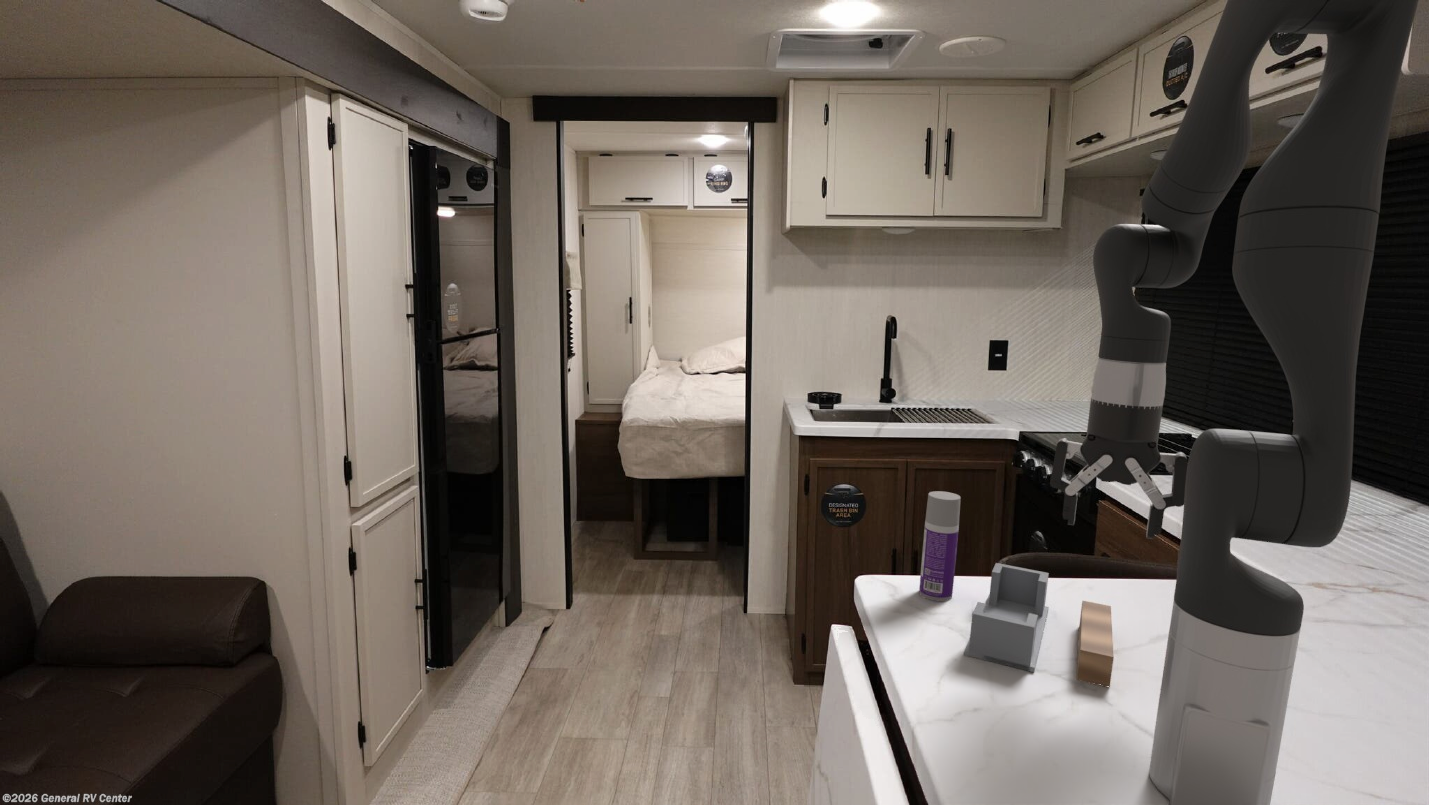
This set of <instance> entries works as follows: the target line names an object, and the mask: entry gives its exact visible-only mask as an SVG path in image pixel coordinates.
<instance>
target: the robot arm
mask: <svg viewBox="0 0 1429 805" xmlns="http://www.w3.org/2000/svg"><path fill="white" fill-rule="evenodd" d="M1418 4H1419V0H1227V2H1226V4H1225V6H1224V10H1223V12H1222V14H1221V17H1220V19H1219V22H1218V25H1217V27H1216V30H1215V31H1214V35H1213V37H1212V40H1211V41H1210V42H1211V43H1210V45H1209V47H1208V51H1207V53H1206V56H1205V59H1204V61H1203V64H1202V67H1201V69H1200V72H1199V75H1198V78H1197V81H1196V84H1195V86H1194V89H1193V93H1192V95H1191V98H1190V100H1189V102H1188V105H1187V108H1186V110H1185V113H1184V116H1183V118H1182V121H1181V122H1180V125H1179V127H1178V129H1177V131H1176V132H1175V135H1174V137H1173V139H1172V141H1171V142H1170V144H1169V146H1168V148H1167V150H1166V152H1165V153H1164V155H1163V157H1162V159H1161V160H1160V163H1159V164H1158V165H1157V168H1156V170H1155V171H1154V173H1153V175H1152V177H1151V178H1150V180H1149V182H1148V183H1147V186H1146V187H1145V189H1144V190H1143V191H1144V192H1143V194H1142V197H1141V203H1140V204H1141V205H1140V206H1141V210H1142V212H1143V214H1144V215H1145V217H1146V218H1147V219H1149V221H1150V222H1153V223H1154V224H1137V223H1136V224H1135V223H1134V224H1133V223H1119V224H1115V225H1112V226H1110V227H1108V228H1106V229H1105V231H1104V232H1103V233H1101V235H1100V236H1099V238H1098V240H1097V241H1096V244H1095V246H1094V249H1093V255H1092V264H1093V271H1094V277H1095V283H1096V286H1097V287H1096V288H1097V293H1098V299H1099V306H1100V307H1099V308H1100V316H1101V330H1100V332H1101V333H1100V340H1099V349H1098V358H1097V362H1096V363H1097V364H1096V365H1095V370H1094V374H1093V380H1092V386H1091V389H1090V391H1091V395H1090V402H1089V403H1090V404H1089V410H1088V411H1089V412H1088V419H1087V420H1088V421H1087V428H1086V437H1085V439H1084V440H1083V442H1077V441H1071V440H1069V439H1068V438H1066V437H1060V438H1059V439H1058V441H1057V443H1056V448H1055V453H1054V458H1053V465H1052V469H1051V474H1050V479H1049V486H1050V487H1052V488H1053V489H1057V490H1060V491H1061V492H1062V493H1063V495H1064V498H1063V507H1062V514H1061V515H1062V519H1063V520H1067V525H1068V526H1074V525H1075V521H1076V513H1077V512H1076V511H1077V503H1078V496H1079V491H1080V490H1081V489H1083V487H1085V486H1086V485H1088V484H1089V483H1090V482H1091V481H1092V480H1093V479H1095V478H1097V479H1099V480H1100V481H1101V482H1104V483H1114V482H1115V483H1119V484H1121V485H1124V486H1125V485H1127V486H1131V485H1135V484H1138V485H1139V487H1141V489H1142V491H1143V492H1144V493H1145V495H1146V496H1147V498H1149V501H1150V502H1151V503H1150V504H1149V513H1148V517H1147V518H1148V519H1147V524H1146V535H1145V536H1146V539H1151V540H1154V536H1155V535H1156V536H1160V534H1161V532H1162V528H1163V522H1164V515H1165V511H1166V509H1168V508H1171V507H1173V508H1174V507H1177V508H1181V507H1183V513H1182V515H1183V516H1182V525H1181V535H1180V536H1181V538H1180V544H1179V550H1178V552H1179V553H1178V560H1177V569H1176V580H1175V589H1174V594H1173V603H1172V608H1171V609H1172V610H1171V618H1170V625H1169V630H1168V637H1167V642H1166V643H1167V645H1166V650H1165V658H1164V662H1163V663H1164V665H1163V670H1162V671H1163V672H1162V676H1161V677H1162V679H1161V685H1160V692H1159V699H1158V706H1157V712H1156V720H1155V726H1154V727H1155V728H1154V733H1153V742H1152V748H1151V754H1150V763H1149V769H1148V772H1149V777H1150V779H1151V782H1152V783H1153V784H1154V786H1155V788H1156V789H1158V791H1159V792H1161V793H1162V794H1163V795H1164V796H1165V797H1166V798H1167V799H1168V801H1169V805H1271V803H1272V798H1273V797H1272V796H1273V791H1274V790H1273V789H1274V785H1275V780H1276V773H1277V767H1278V762H1279V755H1280V749H1281V743H1282V737H1283V731H1284V726H1285V720H1286V714H1287V709H1288V701H1289V696H1290V690H1291V685H1292V679H1293V678H1292V677H1293V673H1294V668H1295V662H1296V658H1297V652H1298V651H1297V650H1298V646H1299V641H1300V640H1299V639H1300V634H1301V627H1302V622H1303V618H1304V617H1303V615H1304V607H1305V605H1304V600H1303V597H1302V595H1301V593H1299V592H1298V590H1297V589H1295V588H1294V587H1292V586H1291V585H1290V584H1289V583H1287V582H1285V581H1284V580H1282V579H1280V578H1278V577H1275V576H1274V575H1271V574H1269V573H1267V572H1264V571H1262V570H1261V569H1258V568H1256V567H1253V566H1251V565H1249V564H1247V563H1245V561H1243V560H1241V559H1239V558H1238V557H1237V556H1235V555H1234V554H1233V553H1232V551H1231V540H1232V539H1241V540H1248V541H1249V540H1250V541H1256V542H1265V543H1272V544H1280V545H1286V546H1295V547H1303V548H1323V547H1325V546H1328V545H1330V544H1331V543H1333V542H1334V541H1335V539H1336V538H1337V536H1338V535H1339V533H1340V531H1341V530H1342V528H1343V526H1344V523H1345V520H1346V516H1347V514H1348V508H1349V504H1350V503H1349V502H1350V496H1351V487H1352V473H1353V472H1352V471H1353V470H1352V469H1353V454H1354V453H1353V452H1354V451H1353V450H1354V429H1355V428H1354V426H1355V406H1356V404H1355V401H1356V400H1355V399H1356V381H1357V380H1356V376H1357V366H1358V356H1359V348H1360V347H1359V346H1360V339H1361V332H1362V331H1361V330H1362V325H1363V319H1364V313H1365V305H1366V300H1367V294H1368V288H1369V283H1370V277H1371V272H1372V271H1371V270H1372V267H1373V260H1374V254H1375V247H1376V241H1377V239H1376V238H1377V231H1378V225H1379V217H1380V215H1379V214H1380V213H1381V212H1380V210H1381V197H1382V186H1383V185H1382V184H1383V176H1384V175H1383V174H1384V168H1385V163H1386V155H1387V154H1386V153H1387V147H1388V141H1389V134H1390V128H1391V122H1392V116H1393V111H1394V105H1395V100H1396V95H1397V88H1398V84H1399V81H1400V80H1399V79H1400V76H1401V73H1402V72H1401V71H1402V66H1403V63H1404V59H1405V54H1406V50H1407V47H1408V43H1409V40H1410V39H1409V38H1410V35H1411V32H1412V27H1413V24H1414V20H1415V16H1416V13H1417V8H1418ZM1275 33H1278V34H1279V33H1280V34H1281V33H1282V34H1302V35H1303V34H1305V35H1306V34H1309V35H1325V36H1326V40H1327V42H1326V43H1327V44H1326V45H1327V46H1326V55H1325V60H1324V65H1323V66H1324V67H1323V69H1322V74H1321V77H1320V80H1319V84H1318V88H1317V91H1316V93H1315V95H1314V97H1313V100H1312V102H1311V103H1310V104H1309V106H1308V108H1307V109H1306V111H1305V113H1304V114H1303V116H1302V117H1301V118H1300V119H1299V121H1298V122H1297V123H1296V125H1295V126H1294V127H1293V129H1291V130H1290V132H1289V133H1288V134H1287V136H1286V137H1285V138H1284V139H1283V140H1282V141H1281V143H1280V144H1278V146H1277V147H1276V148H1275V149H1274V150H1273V152H1272V153H1271V154H1270V155H1269V156H1268V158H1267V159H1266V160H1265V162H1264V163H1263V164H1262V166H1260V168H1259V169H1258V171H1257V172H1256V173H1255V175H1253V177H1252V179H1251V180H1250V182H1249V183H1248V185H1247V187H1246V189H1245V191H1244V193H1243V194H1242V195H1243V196H1242V199H1241V201H1240V205H1239V210H1238V211H1239V212H1238V216H1237V224H1236V233H1235V241H1234V246H1233V247H1234V250H1233V258H1232V266H1231V269H1232V278H1233V281H1234V285H1235V287H1236V290H1237V292H1238V295H1239V296H1240V298H1241V300H1242V302H1243V304H1244V306H1245V308H1246V309H1247V311H1248V312H1249V315H1250V316H1251V317H1252V319H1253V321H1254V322H1255V325H1256V326H1257V327H1258V328H1259V330H1260V332H1261V333H1262V335H1263V337H1264V338H1265V340H1266V341H1267V342H1268V344H1269V346H1270V347H1271V350H1272V351H1273V353H1274V355H1275V356H1276V358H1277V359H1278V361H1279V362H1278V363H1279V364H1280V366H1281V368H1282V370H1283V373H1284V375H1285V378H1286V381H1287V383H1288V388H1289V391H1290V397H1291V403H1292V414H1293V415H1292V416H1293V425H1292V426H1293V428H1292V430H1293V431H1292V434H1285V433H1276V432H1264V431H1256V430H1255V431H1252V430H1243V429H1241V430H1240V429H1227V428H1209V429H1206V430H1204V431H1203V432H1201V433H1200V434H1199V435H1198V436H1197V438H1196V439H1195V440H1194V442H1193V445H1192V447H1191V450H1190V452H1189V456H1188V458H1187V456H1186V454H1185V453H1184V452H1182V451H1177V452H1176V453H1169V452H1168V453H1166V452H1160V449H1158V443H1159V435H1160V428H1161V421H1162V414H1163V406H1164V401H1165V397H1166V386H1167V373H1166V371H1167V369H1166V368H1167V363H1166V362H1167V358H1168V353H1169V351H1168V350H1169V346H1170V336H1171V328H1172V324H1171V322H1172V321H1171V317H1170V316H1169V315H1168V314H1167V313H1166V312H1164V311H1161V310H1159V309H1155V308H1149V307H1146V306H1143V305H1141V304H1140V303H1139V302H1138V301H1137V299H1136V297H1135V294H1134V290H1133V288H1146V289H1147V288H1152V289H1153V288H1154V289H1170V288H1174V287H1177V286H1180V285H1181V284H1183V283H1185V282H1187V281H1188V280H1189V279H1190V278H1191V277H1192V276H1193V275H1194V274H1195V272H1196V270H1198V267H1199V263H1200V261H1201V258H1202V252H1203V247H1204V244H1205V240H1206V237H1207V235H1208V231H1209V229H1210V225H1211V222H1212V219H1213V216H1214V214H1215V212H1216V211H1217V209H1218V208H1219V206H1220V204H1222V202H1223V200H1224V199H1225V197H1226V196H1227V194H1228V193H1229V191H1230V190H1231V188H1232V187H1233V186H1234V184H1235V182H1236V181H1237V180H1238V178H1239V176H1240V174H1241V173H1242V172H1243V169H1244V168H1245V165H1246V163H1247V160H1248V158H1249V155H1250V151H1251V147H1252V144H1253V143H1252V141H1253V140H1252V139H1253V126H1252V123H1253V122H1252V115H1251V114H1252V113H1251V105H1250V79H1251V74H1252V71H1253V68H1254V66H1255V63H1256V61H1257V59H1258V57H1259V56H1260V54H1261V53H1262V50H1263V48H1264V47H1265V46H1266V44H1267V42H1268V41H1269V40H1270V39H1271V38H1272V36H1273V35H1274V34H1275ZM1077 452H1078V453H1080V455H1081V456H1082V458H1083V459H1084V461H1085V463H1086V465H1085V466H1084V467H1083V468H1082V469H1080V471H1079V472H1078V474H1076V475H1075V476H1074V477H1073V478H1072V479H1070V480H1068V479H1067V478H1064V477H1063V476H1064V470H1065V466H1066V460H1067V459H1068V460H1070V459H1072V458H1074V455H1075V453H1077ZM1160 463H1163V464H1164V465H1165V469H1166V471H1168V473H1172V479H1171V481H1172V482H1171V493H1167V494H1166V493H1165V494H1163V493H1162V492H1161V490H1160V489H1159V488H1158V486H1157V484H1156V482H1155V481H1154V479H1153V477H1151V475H1150V472H1151V471H1152V470H1153V469H1155V468H1156V467H1157V466H1158V465H1159V464H1160Z"/></svg>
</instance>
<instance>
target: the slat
mask: <svg viewBox="0 0 1429 805" xmlns="http://www.w3.org/2000/svg"><path fill="white" fill-rule="evenodd" d="M1078 628H1079V629H1078V644H1079V645H1078V649H1077V669H1076V670H1077V672H1076V680H1077V681H1080V680H1081V681H1080V682H1083V683H1084V682H1085V683H1088V682H1090V683H1089V684H1092V683H1095V684H1094V685H1096V684H1101V685H1103V686H1102V687H1105V686H1109V687H1111V681H1112V680H1111V679H1112V674H1113V673H1112V672H1113V664H1114V641H1113V638H1114V637H1113V620H1112V606H1111V605H1108V604H1103V603H1097V602H1093V601H1086V600H1082V602H1081V609H1080V618H1079V627H1078ZM1101 685H1100V686H1101ZM1109 687H1108V688H1109Z"/></svg>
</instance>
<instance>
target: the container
mask: <svg viewBox="0 0 1429 805" xmlns="http://www.w3.org/2000/svg"><path fill="white" fill-rule="evenodd" d="M927 494H928V495H927V503H926V513H925V521H924V531H923V543H922V555H921V565H920V566H921V567H920V578H919V590H918V592H919V595H920V596H921V597H923V598H925V599H927V600H931V601H935V602H947V601H949V600H951V599H953V594H954V592H953V591H954V583H955V582H954V581H955V572H956V570H955V569H956V561H957V552H958V550H957V549H958V537H959V528H960V527H959V526H960V511H961V496H960V495H959V494H957V493H953V492H949V491H942V490H941V491H939V490H937V491H936V490H935V491H929V493H927Z"/></svg>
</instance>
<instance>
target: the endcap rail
mask: <svg viewBox="0 0 1429 805" xmlns="http://www.w3.org/2000/svg"><path fill="white" fill-rule="evenodd" d="M1049 574H1050V573H1049V572H1045V571H1039V570H1036V569H1035V570H1034V569H1029V568H1025V567H1019V566H1014V565H1009V564H1003V563H999V562H998V563H997V562H995V564H994V567H993V569H992V571H991V575H990V576H991V580H990V587H989V588H990V589H989V594H988V595H987V599H986V601H985V603H984V602H980V601H977V603H976V604H975V607H974V609H973V611H972V614H971V623H970V624H971V625H970V635H969V639H968V641H967V643H966V646H965V648H964V650H963V655H965V656H967V657H972V658H974V659H980V660H983V661H987V662H991V663H995V664H999V665H1002V666H1006V667H1010V668H1016V669H1019V670H1023V671H1026V672H1031V673H1035V670H1036V667H1037V662H1038V658H1039V653H1040V650H1041V645H1042V641H1041V640H1042V639H1043V637H1044V632H1043V631H1045V628H1046V627H1045V626H1046V623H1047V619H1048V614H1049V610H1050V608H1049V606H1047V605H1046V599H1047V593H1048V592H1047V590H1048V584H1049V583H1048V582H1049V576H1050V575H1049ZM1046 618H1047V619H1046ZM1045 622H1046V623H1045Z"/></svg>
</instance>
